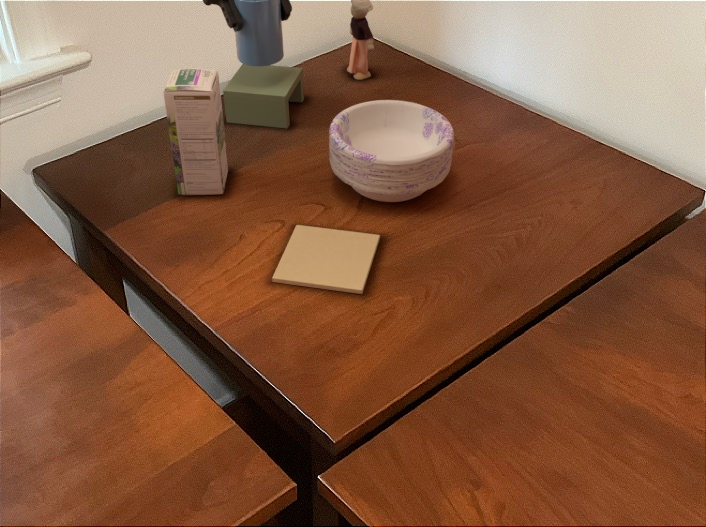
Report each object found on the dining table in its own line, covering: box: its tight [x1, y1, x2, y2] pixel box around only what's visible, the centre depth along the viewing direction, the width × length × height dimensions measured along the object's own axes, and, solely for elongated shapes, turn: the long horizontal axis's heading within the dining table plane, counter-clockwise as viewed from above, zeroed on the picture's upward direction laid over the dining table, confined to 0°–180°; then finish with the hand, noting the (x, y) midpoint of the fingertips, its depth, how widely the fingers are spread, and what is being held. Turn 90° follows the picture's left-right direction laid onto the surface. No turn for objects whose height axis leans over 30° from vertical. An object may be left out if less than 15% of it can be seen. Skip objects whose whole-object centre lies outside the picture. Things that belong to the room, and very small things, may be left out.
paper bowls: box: [328, 99, 455, 203], centre depth 102 cm, size 15×15×8 cm
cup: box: [234, 0, 285, 66], centre depth 111 cm, size 6×6×9 cm
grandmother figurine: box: [346, 0, 375, 81], centre depth 124 cm, size 8×4×13 cm, turn 34°
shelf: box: [222, 63, 305, 130], centre depth 117 cm, size 9×9×5 cm
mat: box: [271, 224, 381, 295], centre depth 92 cm, size 10×10×1 cm
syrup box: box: [163, 67, 229, 196], centre depth 100 cm, size 6×6×14 cm
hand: (263, 23), depth 109 cm, fingers closed on cup, 6 cm apart
